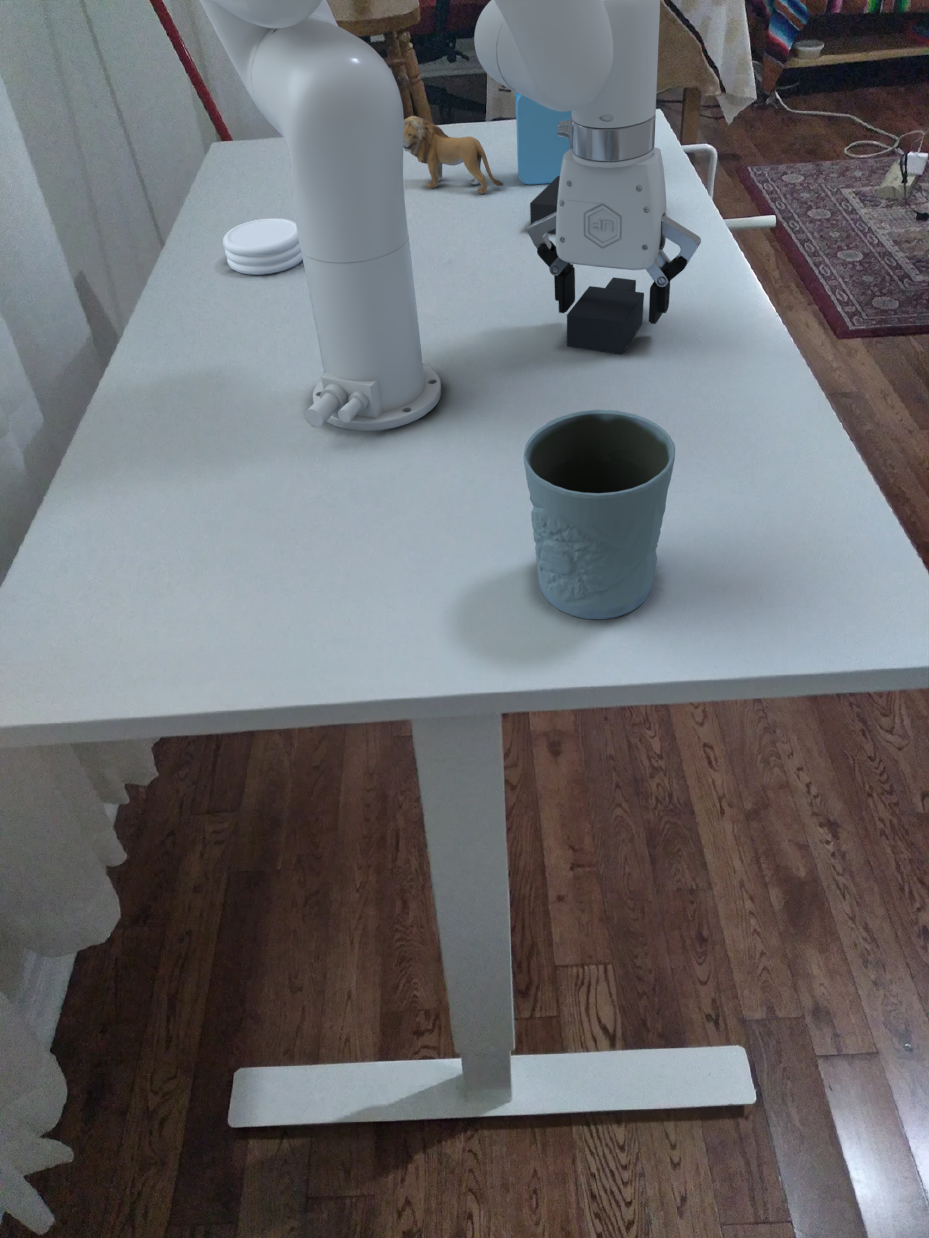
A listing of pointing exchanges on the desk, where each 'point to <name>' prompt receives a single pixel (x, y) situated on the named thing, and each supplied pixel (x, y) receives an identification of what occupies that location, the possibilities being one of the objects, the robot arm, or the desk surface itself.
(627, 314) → the pad
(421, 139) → the lion figurine
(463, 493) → the desk surface
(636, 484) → the embossed blue-grey cup
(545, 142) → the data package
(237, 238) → the coaster
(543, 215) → the notch pad
